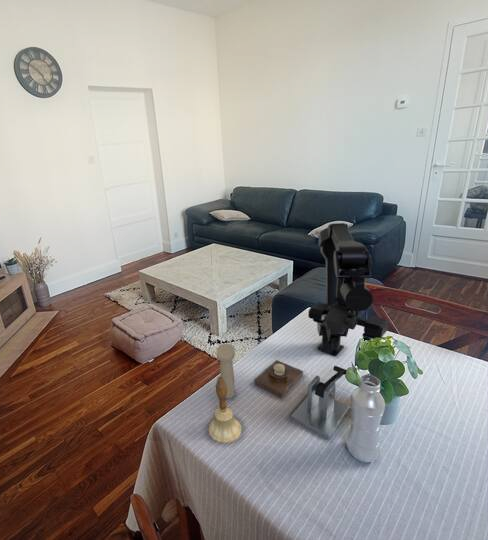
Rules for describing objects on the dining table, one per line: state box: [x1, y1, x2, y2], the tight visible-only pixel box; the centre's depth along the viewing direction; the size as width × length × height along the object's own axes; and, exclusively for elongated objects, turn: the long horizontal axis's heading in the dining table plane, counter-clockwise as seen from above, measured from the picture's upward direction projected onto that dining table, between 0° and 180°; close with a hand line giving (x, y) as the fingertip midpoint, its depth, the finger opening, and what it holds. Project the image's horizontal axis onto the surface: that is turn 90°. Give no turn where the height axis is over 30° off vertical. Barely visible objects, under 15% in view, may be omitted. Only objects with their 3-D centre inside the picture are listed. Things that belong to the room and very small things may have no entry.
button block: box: [254, 359, 304, 399], centre depth 99 cm, size 12×9×4 cm
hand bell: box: [208, 376, 243, 444], centre depth 82 cm, size 8×8×16 cm
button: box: [274, 364, 285, 375], centre depth 98 cm, size 3×3×2 cm
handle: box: [216, 343, 236, 399], centre depth 93 cm, size 5×6×15 cm
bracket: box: [290, 375, 350, 440], centre depth 84 cm, size 12×10×10 cm
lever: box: [315, 365, 348, 398], centre depth 88 cm, size 16×5×2 cm, turn 137°
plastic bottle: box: [346, 374, 386, 463], centre depth 71 cm, size 6×7×20 cm
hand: (344, 346), depth 91 cm, fingers open, 9 cm apart
